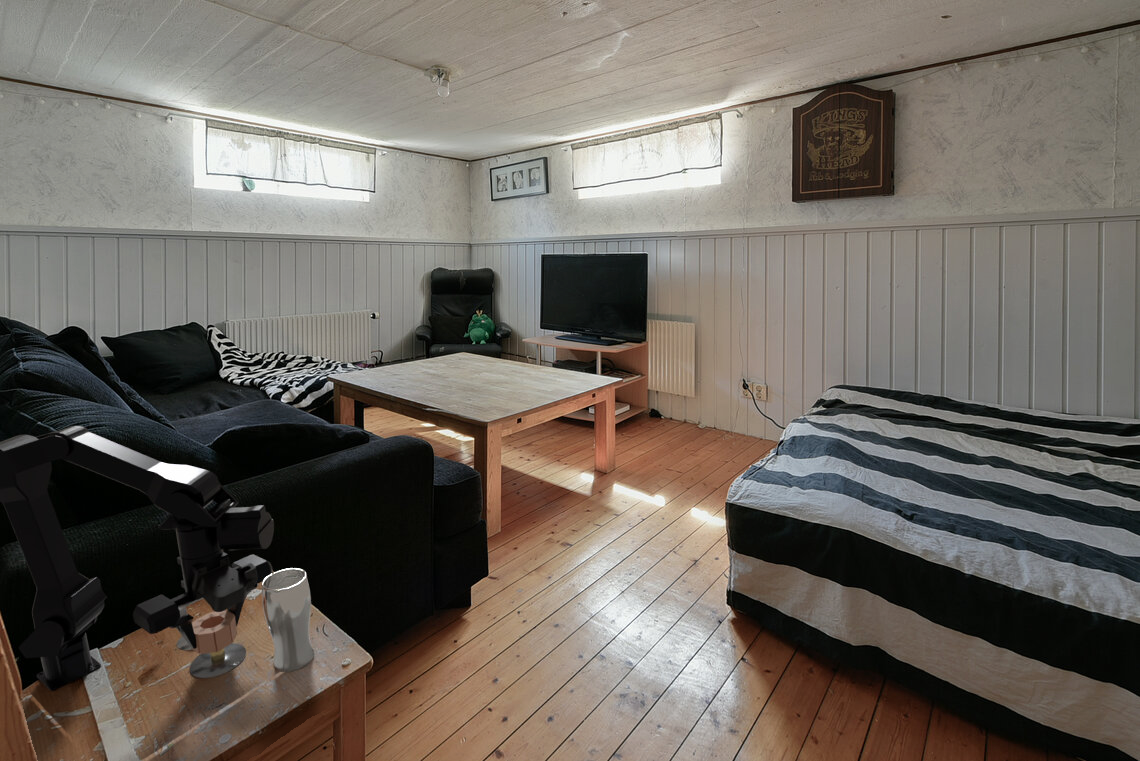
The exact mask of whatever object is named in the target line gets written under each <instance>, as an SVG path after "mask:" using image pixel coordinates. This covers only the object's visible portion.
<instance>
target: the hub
mask: <svg viewBox="0 0 1140 761" xmlns="http://www.w3.org/2000/svg"><path fill="white" fill-rule="evenodd" d="M246 655H247V650H246V648H245V646H244V645H243V644H239V643H235V642H233V643H232V644H230V645H228V646H226V647H225V648H223V649H221V650H219V651H216V652H212V653H205V654H198V656H196V657H195V658H194V659H193V660H192V662H191V663H190V665H189V673H190V674H191V675H192V676H194V677H196V678H199V679H209V678H214V677H218V676H221V675H224V674H226V673H229V672H230V671H232V670H233V669H235V668H236V667H237V666H239V665H240V664H241V663H242V662H243V661H244V659H245V658H246Z"/></svg>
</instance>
